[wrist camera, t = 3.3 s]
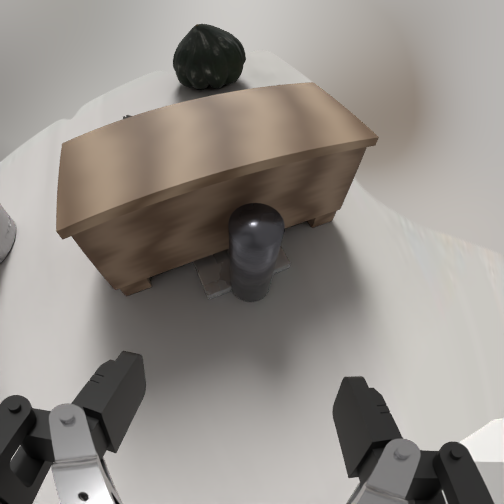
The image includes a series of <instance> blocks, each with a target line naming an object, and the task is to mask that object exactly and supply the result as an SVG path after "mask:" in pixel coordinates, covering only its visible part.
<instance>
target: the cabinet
mask: <svg viewBox="0 0 504 504" xmlns="http://www.w3.org/2000/svg"><path fill="white" fill-rule="evenodd" d="M377 140H378V136H377V135H376V134H375V133H374V132H373V131H371V130H370V129H369V128H368V127H367V126H366V125H365V124H364V123H363V122H361V121H360V120H359V119H358V118H357V117H356V116H355V115H353V114H352V113H351V112H350V111H349V110H348V109H346V108H345V107H344V106H343V105H342V104H340V103H339V102H338V101H337V100H335V99H334V98H333V97H332V96H330V95H329V94H328V93H326V92H325V91H324V90H323V89H321V88H320V87H319V86H317V85H316V84H315V83H313V82H312V83H297V84H286V85H276V86H267V87H260V88H252V89H246V90H239V91H233V92H227V93H222V94H217V95H212V96H207V97H202V98H198V99H193V100H189V101H185V102H181V103H177V104H173V105H169V106H165V107H162V108H158V109H155V110H151V111H148V112H144V113H141V114H138V115H135V116H132V117H129V118H126V119H123V120H120V121H117V122H114V123H111V124H109V125H106V126H103V127H101V128H98V129H95V130H93V131H90V132H88V133H85V134H83V135H81V136H78V137H76V138H74V139H71V140H69V141H67V142H65V143H62V149H61V157H60V166H59V177H58V190H57V215H56V232H57V233H58V234H59V235H60V237H61V238H62V239H65V238H68V237H70V236H72V238H73V239H74V240H75V242H76V243H77V244H78V246H79V247H80V248H81V249H82V251H83V252H84V253H85V255H86V256H87V257H88V258H89V260H90V261H91V262H92V263H93V265H94V266H95V267H96V268H97V270H98V271H99V272H100V273H101V274H102V276H103V277H104V278H105V279H106V280H107V282H108V283H109V284H110V285H111V286H112V287H113V288H114V290H117V289H120V290H121V291H122V292H123V293H124V295H125V296H129V295H131V294H134V293H137V292H139V291H142V290H145V289H147V288H150V287H152V286H151V282H150V279H149V277H152V276H155V275H157V274H160V273H163V272H165V271H168V270H171V269H174V268H176V267H179V266H182V265H185V264H187V263H190V262H193V261H196V260H198V259H201V258H204V257H207V256H209V255H212V254H215V253H218V252H220V251H223V250H226V249H229V227H228V223H229V218H230V216H231V214H232V213H233V212H234V211H235V210H236V209H237V208H239V207H240V206H242V205H245V204H249V203H262V204H266V205H269V206H271V207H272V208H274V209H275V210H277V211H278V212H279V213H280V215H281V216H282V218H283V220H284V224H285V228H288V227H291V226H293V225H296V224H299V223H302V222H305V221H308V223H309V224H310V226H311V227H312V228H314V227H316V226H319V225H322V224H325V223H327V222H330V221H332V220H333V218H334V216H335V213H336V211H337V210H339V209H340V208H341V206H342V204H343V202H344V199H345V197H346V195H347V193H348V190H349V188H350V186H351V183H352V181H353V179H354V176H355V174H356V172H357V169H358V167H359V165H360V162H361V160H362V157H363V155H364V152H365V150H366V147H369V146H374V145H376V142H377Z"/></svg>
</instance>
